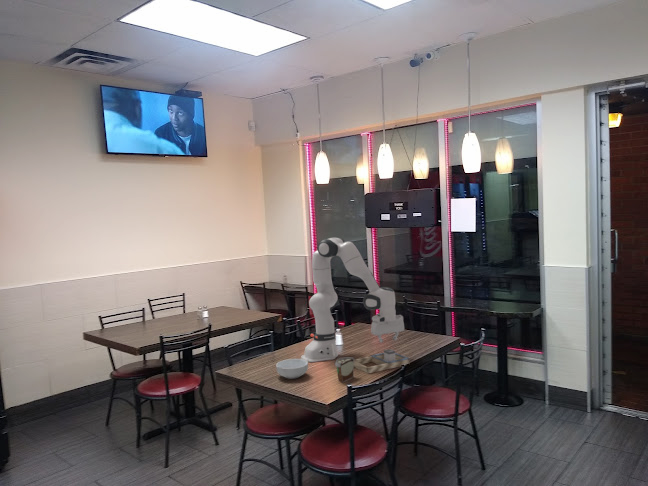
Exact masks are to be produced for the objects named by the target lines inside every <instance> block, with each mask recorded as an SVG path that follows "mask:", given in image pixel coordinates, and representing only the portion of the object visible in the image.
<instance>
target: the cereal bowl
mask: <svg viewBox="0 0 648 486" xmlns="http://www.w3.org/2000/svg"><path fill="white" fill-rule="evenodd" d="M275 367H276V372H277V374H278V375H279V376H281V377H282V378H285V379H290V380H291V379H294V380H295V379H298V378H300V377H302V376H303V375H305V374H306V373H307V372H308V369H309V362H307V361H306V360H303V359H301V358H287V359H284V360H280V361H278V362H277V363H276V365H275Z"/></svg>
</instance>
